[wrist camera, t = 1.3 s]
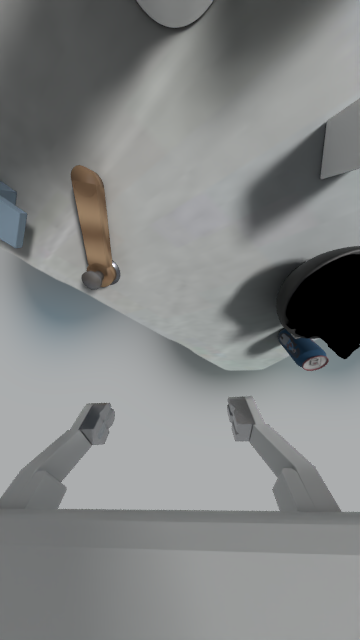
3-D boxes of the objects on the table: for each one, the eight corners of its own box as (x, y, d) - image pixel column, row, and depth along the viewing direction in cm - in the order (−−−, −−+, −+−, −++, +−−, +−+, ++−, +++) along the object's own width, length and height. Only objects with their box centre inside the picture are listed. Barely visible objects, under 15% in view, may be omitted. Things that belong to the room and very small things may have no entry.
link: (117, 284, 38) (106, 295, 32) (95, 280, 37) (80, 291, 32) (107, 174, 26) (86, 161, 20) (74, 167, 25) (44, 153, 20)
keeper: (-4, 214, 30) (-43, 214, 25) (-3, 178, 27) (-46, 169, 22) (41, 243, 33) (15, 248, 28) (47, 214, 30) (19, 213, 25)
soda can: (299, 337, 48) (329, 368, 38) (276, 343, 49) (299, 374, 39) (300, 322, 44) (333, 351, 34) (275, 328, 46) (301, 358, 36)
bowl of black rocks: (328, 216, 29) (492, 212, 14) (362, 277, 36) (497, 321, 20) (245, 289, 38) (287, 336, 23) (285, 326, 45) (338, 382, 30)
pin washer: (88, 253, 34) (88, 254, 34) (118, 259, 34) (118, 259, 34) (94, 282, 38) (93, 282, 38) (121, 286, 38) (120, 286, 38)
